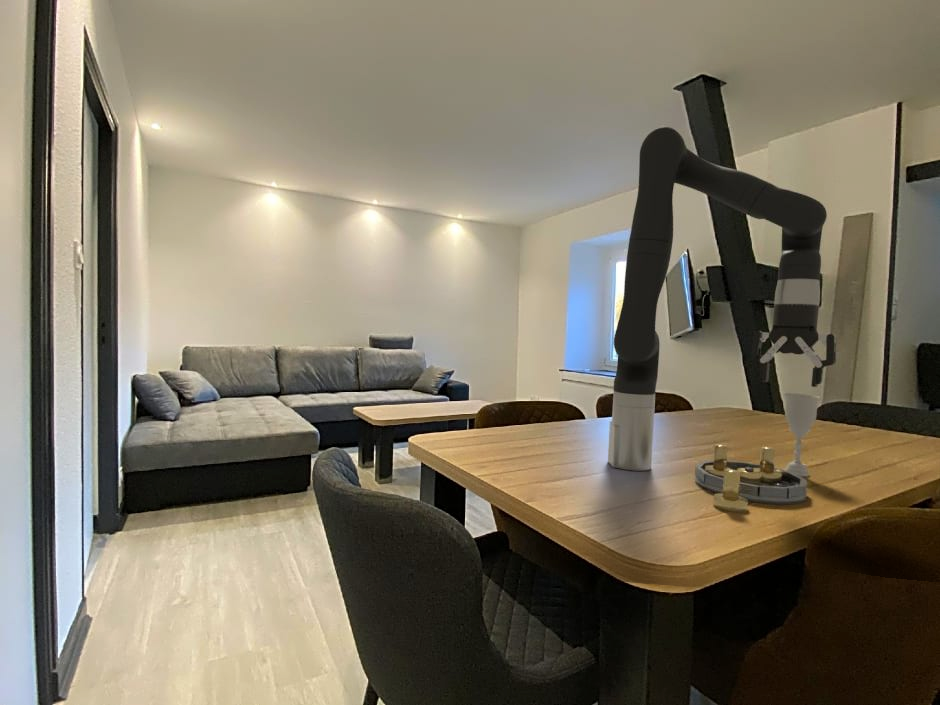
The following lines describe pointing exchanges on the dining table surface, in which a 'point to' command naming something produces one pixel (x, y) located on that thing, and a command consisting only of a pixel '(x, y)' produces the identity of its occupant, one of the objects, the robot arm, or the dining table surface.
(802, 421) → the chalice
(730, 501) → the planet gear
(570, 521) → the dining table surface
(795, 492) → the carrier
